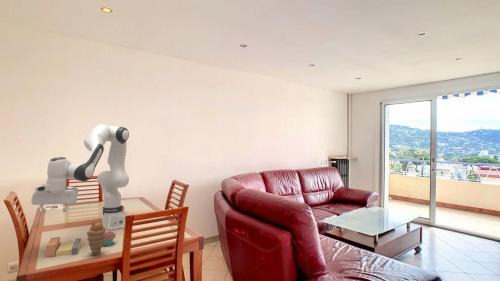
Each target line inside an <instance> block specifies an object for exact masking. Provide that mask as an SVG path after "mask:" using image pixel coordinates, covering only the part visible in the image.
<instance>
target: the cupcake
mask: <svg viewBox="0 0 500 281" xmlns="http://www.w3.org/2000/svg"><path fill="white" fill-rule="evenodd" d="M116 236H117V235H116V233H114V232H113V231H109V230H108V225H107V229H106V231H105V240H104V243H103V246H104V247H107V246H111V245H112V244H113V241H114V239H116Z"/></svg>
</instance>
